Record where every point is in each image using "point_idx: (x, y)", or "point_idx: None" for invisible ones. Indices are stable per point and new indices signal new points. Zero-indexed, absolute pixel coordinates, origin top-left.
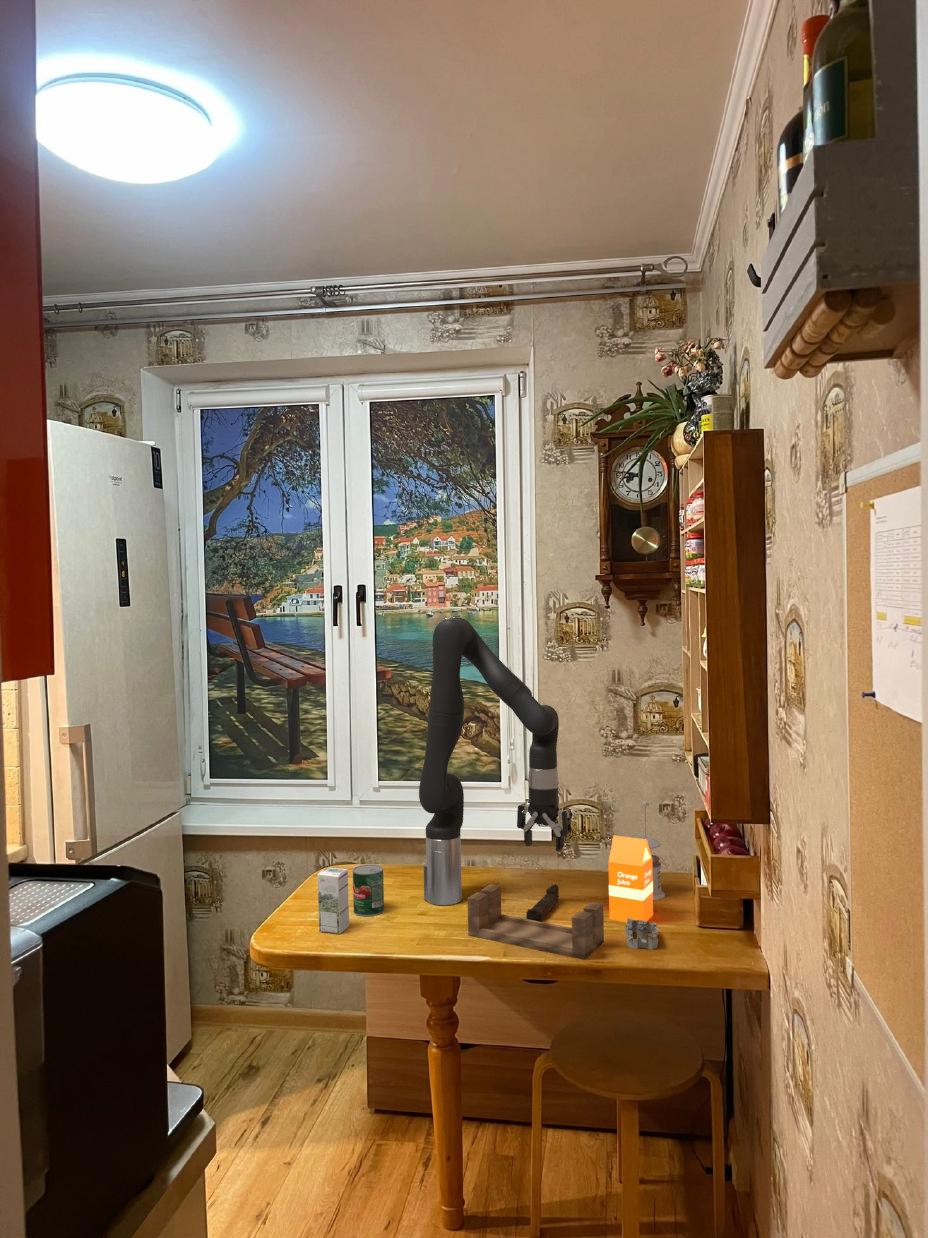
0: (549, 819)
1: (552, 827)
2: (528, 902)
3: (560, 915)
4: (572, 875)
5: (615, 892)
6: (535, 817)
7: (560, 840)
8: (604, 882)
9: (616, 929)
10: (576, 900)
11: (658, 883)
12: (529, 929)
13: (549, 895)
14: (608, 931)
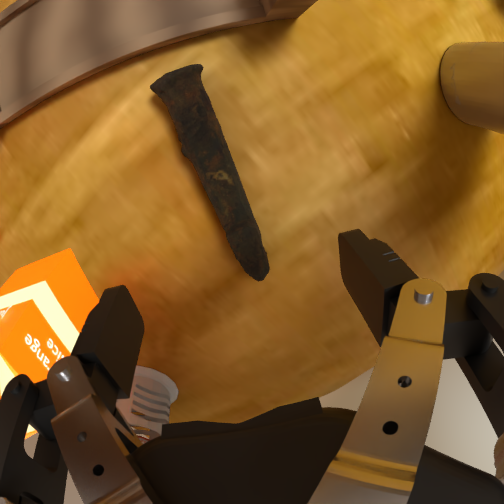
0: (89, 495)
1: (73, 410)
2: (307, 194)
3: (167, 179)
4: (322, 375)
5: (27, 291)
6: (332, 480)
7: (79, 345)
8: (246, 388)
9: (22, 212)
10: (215, 288)
11: (137, 415)
12: (135, 15)
13: (228, 211)
14: (22, 190)
